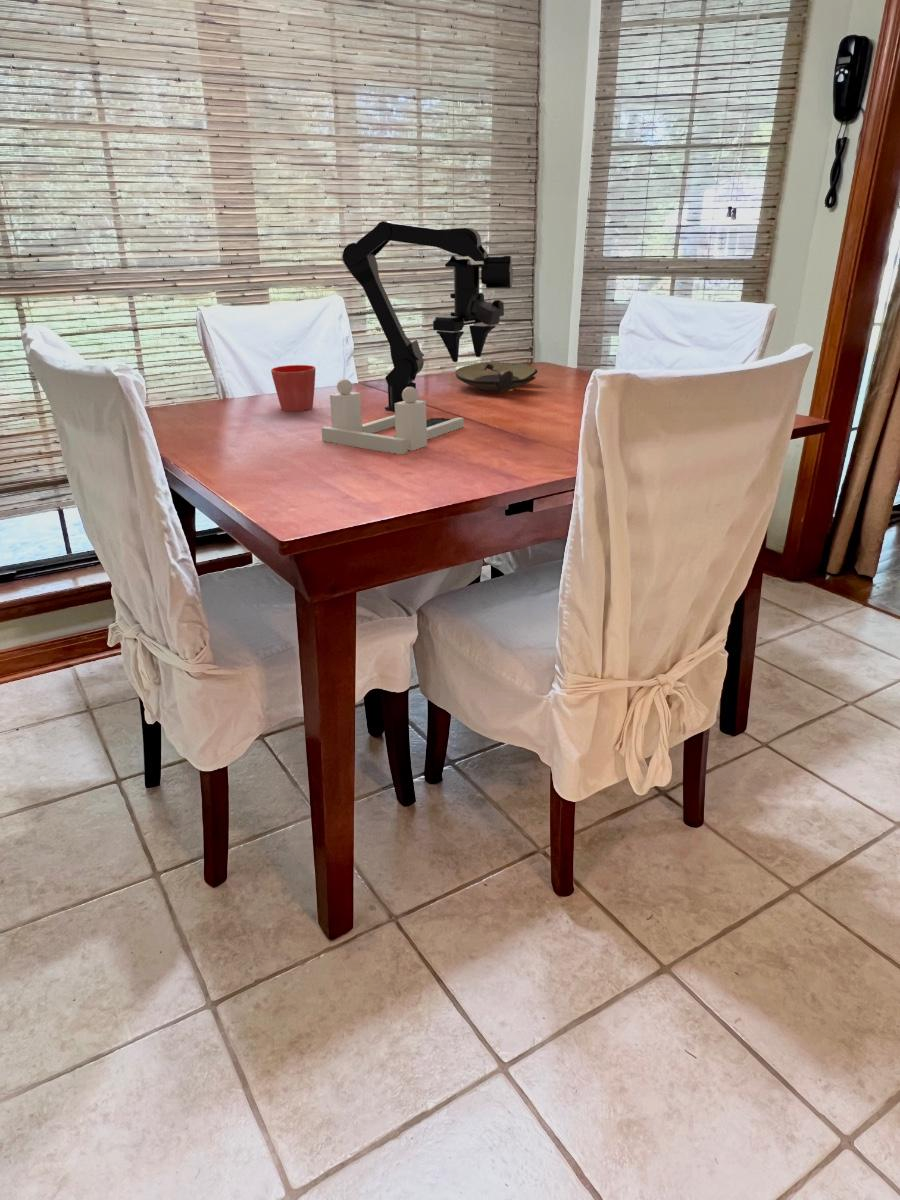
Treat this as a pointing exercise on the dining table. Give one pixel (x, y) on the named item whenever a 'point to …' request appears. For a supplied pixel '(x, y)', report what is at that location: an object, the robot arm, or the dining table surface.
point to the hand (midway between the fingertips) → (466, 359)
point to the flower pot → (294, 386)
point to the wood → (435, 421)
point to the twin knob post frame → (382, 423)
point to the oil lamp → (496, 375)
